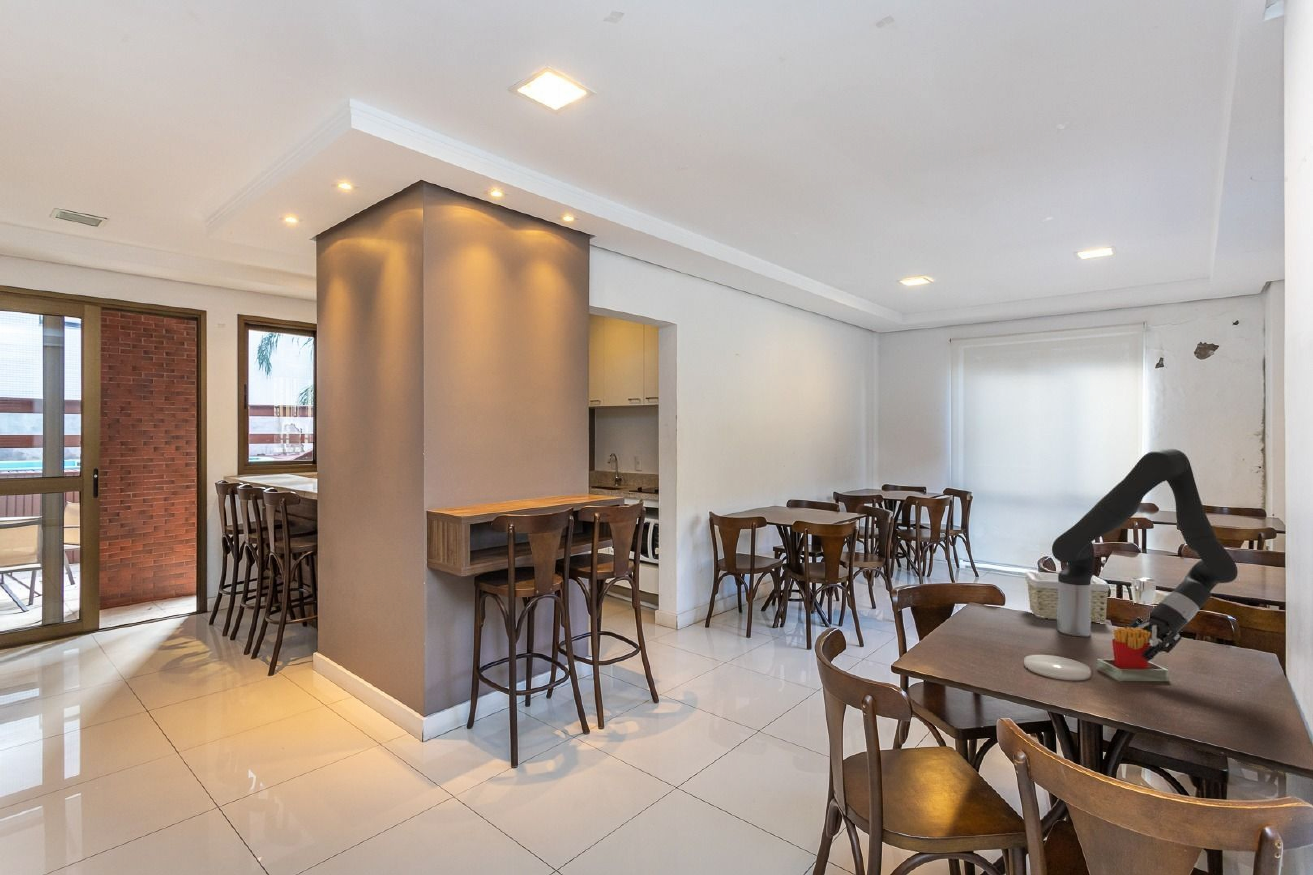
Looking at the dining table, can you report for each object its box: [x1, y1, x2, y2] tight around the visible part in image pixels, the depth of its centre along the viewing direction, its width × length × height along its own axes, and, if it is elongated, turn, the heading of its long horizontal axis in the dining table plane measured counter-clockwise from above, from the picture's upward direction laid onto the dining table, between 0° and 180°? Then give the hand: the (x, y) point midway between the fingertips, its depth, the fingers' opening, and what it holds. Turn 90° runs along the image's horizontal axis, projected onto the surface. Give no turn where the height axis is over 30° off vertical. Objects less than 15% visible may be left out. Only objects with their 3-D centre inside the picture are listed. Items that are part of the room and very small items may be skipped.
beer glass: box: [1131, 576, 1157, 605], centre depth 225 cm, size 7×7×15 cm
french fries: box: [1111, 626, 1151, 669], centre depth 173 cm, size 9×4×13 cm, turn 82°
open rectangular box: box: [1096, 658, 1170, 682], centre depth 173 cm, size 9×14×3 cm, turn 89°
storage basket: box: [1025, 570, 1110, 624], centre depth 231 cm, size 24×16×15 cm
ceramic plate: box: [1023, 654, 1092, 681], centre depth 177 cm, size 16×16×2 cm
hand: (1133, 652), depth 173 cm, fingers open, 8 cm apart
